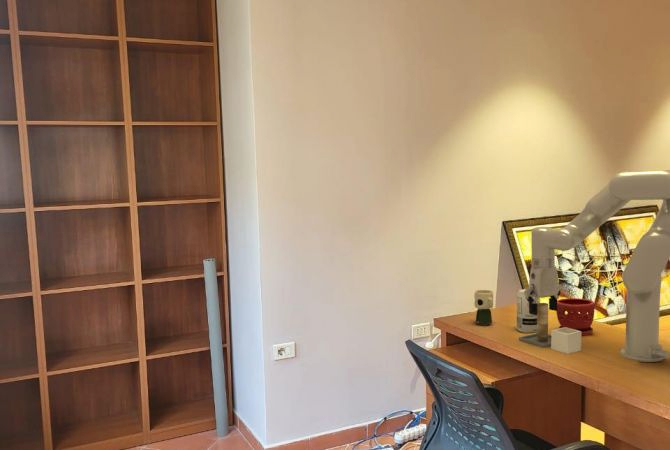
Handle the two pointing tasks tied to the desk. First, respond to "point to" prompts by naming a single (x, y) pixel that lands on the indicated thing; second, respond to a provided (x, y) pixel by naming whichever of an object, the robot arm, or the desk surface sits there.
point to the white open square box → (566, 340)
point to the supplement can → (525, 314)
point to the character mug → (483, 306)
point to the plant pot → (576, 314)
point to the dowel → (542, 322)
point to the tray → (533, 340)
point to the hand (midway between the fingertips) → (543, 312)
